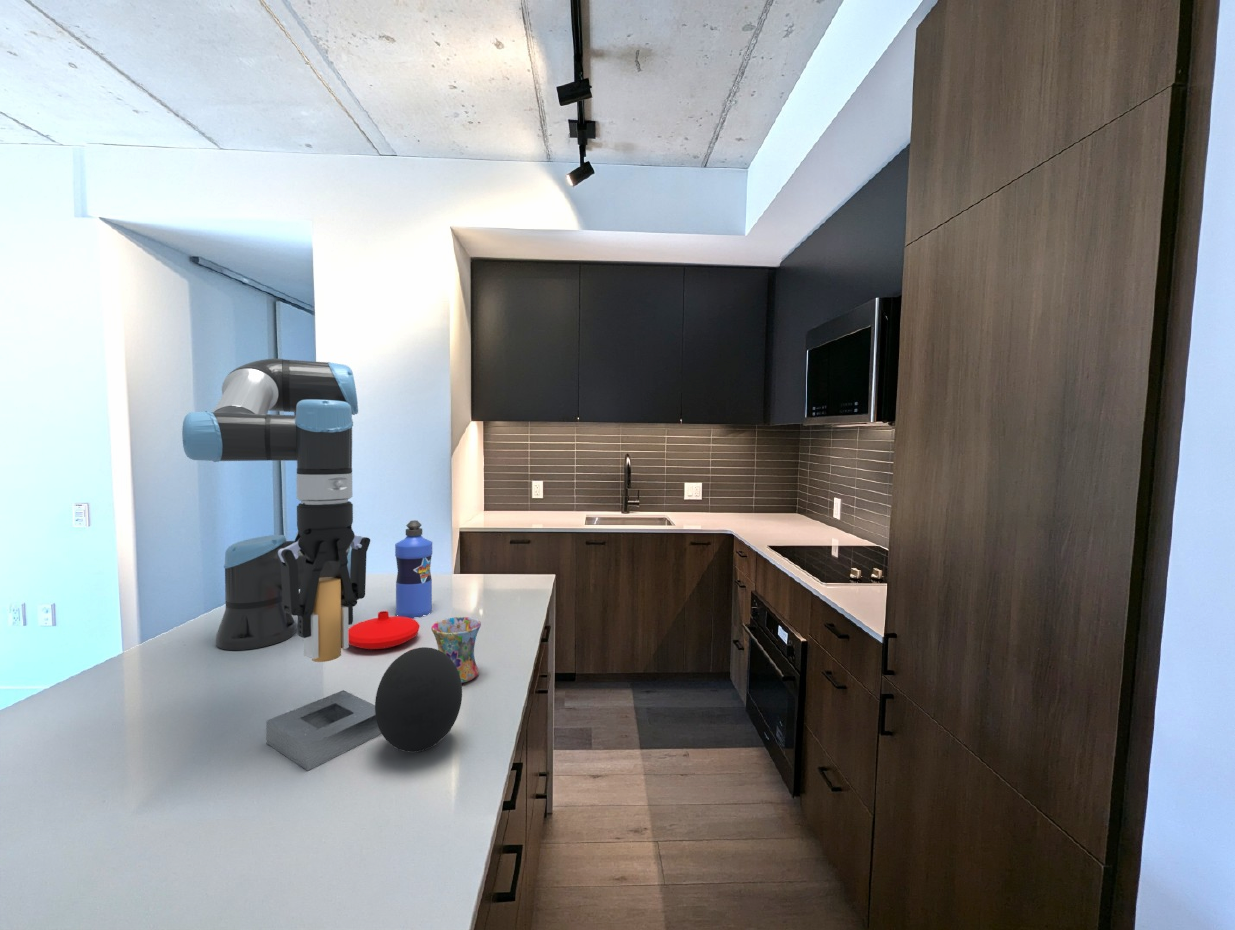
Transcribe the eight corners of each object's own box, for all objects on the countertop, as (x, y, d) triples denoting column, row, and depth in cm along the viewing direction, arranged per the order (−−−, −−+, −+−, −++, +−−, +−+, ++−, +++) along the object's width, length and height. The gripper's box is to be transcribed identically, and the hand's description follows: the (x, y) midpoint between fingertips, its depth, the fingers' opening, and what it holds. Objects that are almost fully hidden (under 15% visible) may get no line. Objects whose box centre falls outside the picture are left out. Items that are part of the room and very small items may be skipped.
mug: (484, 683, 100) (484, 629, 100) (433, 692, 97) (433, 635, 96) (475, 659, 111) (475, 610, 111) (429, 666, 108) (429, 615, 107)
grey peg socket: (266, 743, 80) (266, 720, 80) (343, 709, 90) (343, 690, 90) (307, 770, 73) (307, 746, 73) (385, 731, 83) (385, 710, 83)
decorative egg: (398, 723, 86) (397, 633, 85) (472, 725, 85) (472, 635, 85) (358, 770, 74) (357, 666, 73) (445, 773, 73) (445, 668, 72)
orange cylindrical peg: (306, 657, 80) (305, 580, 80) (332, 649, 84) (331, 575, 83) (320, 664, 78) (319, 585, 78) (346, 655, 82) (346, 579, 81)
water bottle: (439, 609, 144) (439, 519, 143) (416, 620, 135) (416, 524, 134) (412, 605, 147) (411, 517, 146) (387, 615, 138) (387, 522, 137)
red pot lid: (328, 649, 116) (328, 618, 116) (384, 626, 130) (384, 598, 130) (382, 661, 110) (381, 628, 110) (434, 636, 124) (434, 607, 124)
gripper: (277, 508, 71) (279, 677, 72) (390, 498, 85) (390, 639, 86) (251, 504, 75) (253, 664, 76) (363, 495, 89) (364, 630, 90)
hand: (326, 651), depth 81 cm, fingers closed on orange cylindrical peg, 4 cm apart
